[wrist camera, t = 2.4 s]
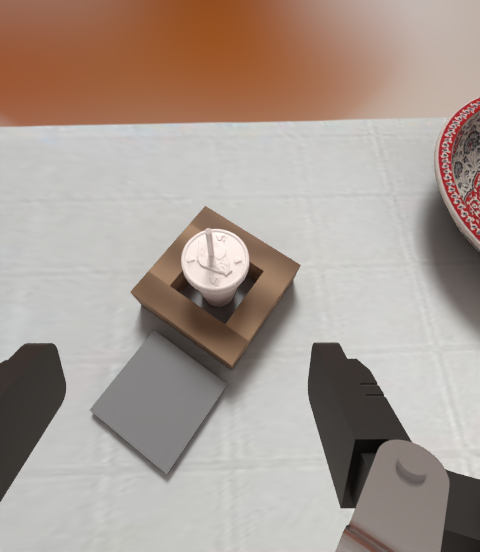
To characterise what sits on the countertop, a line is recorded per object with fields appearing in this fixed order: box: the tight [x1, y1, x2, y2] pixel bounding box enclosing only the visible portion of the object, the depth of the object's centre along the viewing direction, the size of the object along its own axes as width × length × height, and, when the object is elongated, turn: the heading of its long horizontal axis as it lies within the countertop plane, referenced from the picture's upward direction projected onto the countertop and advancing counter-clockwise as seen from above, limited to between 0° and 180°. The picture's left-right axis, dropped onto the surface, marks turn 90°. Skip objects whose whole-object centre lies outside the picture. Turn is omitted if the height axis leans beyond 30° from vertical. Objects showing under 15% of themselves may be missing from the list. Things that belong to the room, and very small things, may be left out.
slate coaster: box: [90, 330, 228, 474], centre depth 34 cm, size 10×10×1 cm
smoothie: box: [181, 228, 249, 307], centre depth 33 cm, size 6×6×14 cm
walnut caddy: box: [131, 206, 300, 370], centre depth 37 cm, size 13×13×4 cm
